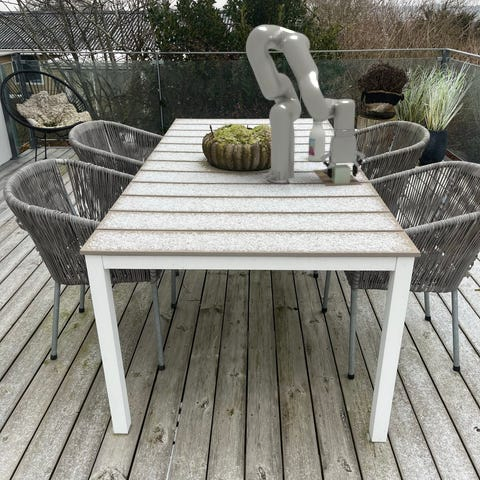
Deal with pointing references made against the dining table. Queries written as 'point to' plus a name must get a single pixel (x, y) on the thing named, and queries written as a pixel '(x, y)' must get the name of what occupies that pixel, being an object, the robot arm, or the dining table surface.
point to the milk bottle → (316, 142)
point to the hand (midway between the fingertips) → (342, 176)
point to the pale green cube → (341, 174)
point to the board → (328, 182)
